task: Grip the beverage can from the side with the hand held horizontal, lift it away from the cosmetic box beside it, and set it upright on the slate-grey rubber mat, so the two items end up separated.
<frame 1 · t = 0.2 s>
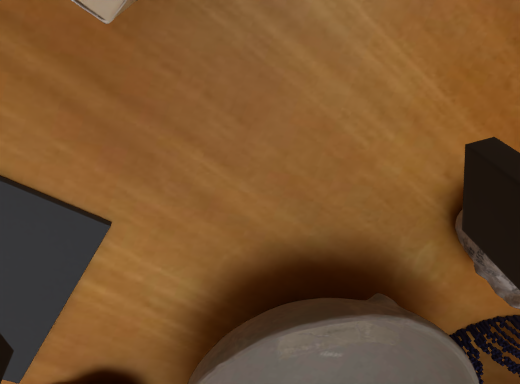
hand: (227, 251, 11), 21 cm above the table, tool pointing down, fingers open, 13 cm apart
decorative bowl: (481, 375, 51), on the table
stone: (468, 217, 39), on the table
bowl: (304, 346, 44), on the table
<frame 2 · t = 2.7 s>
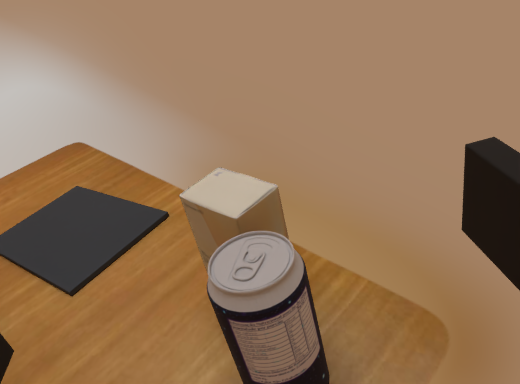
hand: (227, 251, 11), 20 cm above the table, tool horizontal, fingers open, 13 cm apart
slate mat: (75, 232, 53), on the table
cosmetic box: (262, 309, 37), on the table
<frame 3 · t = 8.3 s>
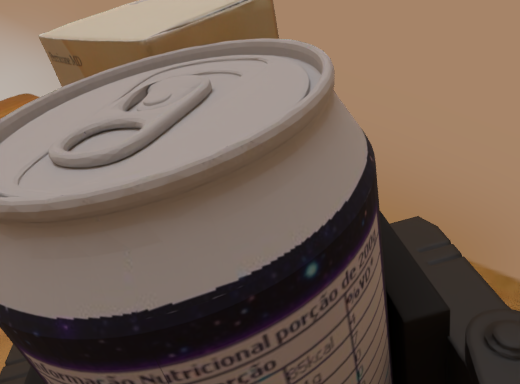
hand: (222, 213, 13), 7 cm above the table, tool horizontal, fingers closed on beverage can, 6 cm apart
cosmetic box: (242, 310, 19), on the table
when the fingers open (7 cm above the table, at t = 19.9 s): beverage can stays where it is, resting on slate mat.
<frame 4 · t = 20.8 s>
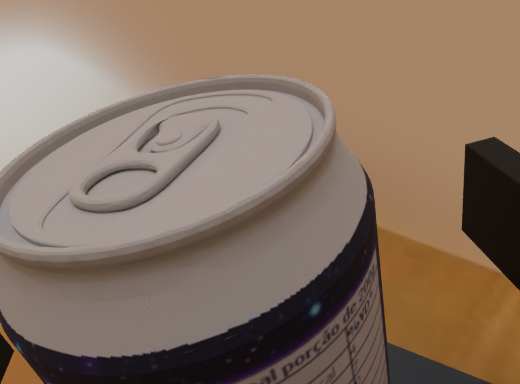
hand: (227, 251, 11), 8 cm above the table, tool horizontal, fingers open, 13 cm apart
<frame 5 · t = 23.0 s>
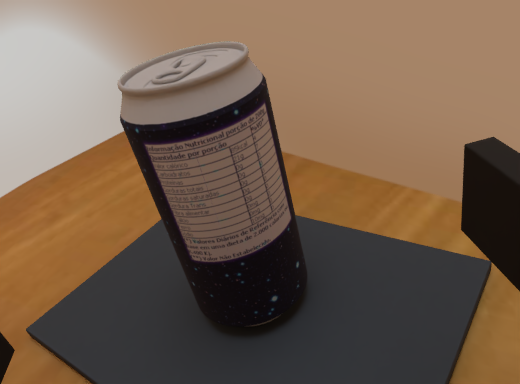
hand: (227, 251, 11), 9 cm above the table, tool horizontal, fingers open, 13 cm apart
slate mat: (244, 305, 22), on the table
beverage can: (256, 296, 22), resting on slate mat
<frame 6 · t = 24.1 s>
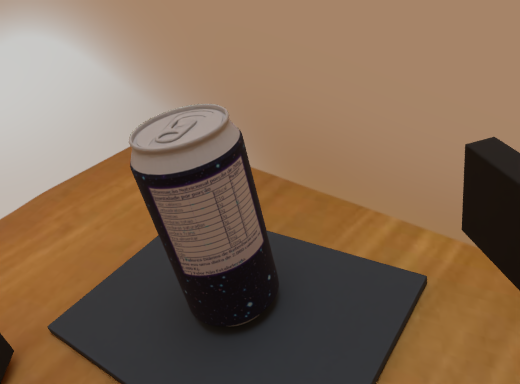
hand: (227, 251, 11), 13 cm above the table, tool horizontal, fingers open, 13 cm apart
slate mat: (228, 309, 27), on the table
beverage can: (237, 301, 27), resting on slate mat
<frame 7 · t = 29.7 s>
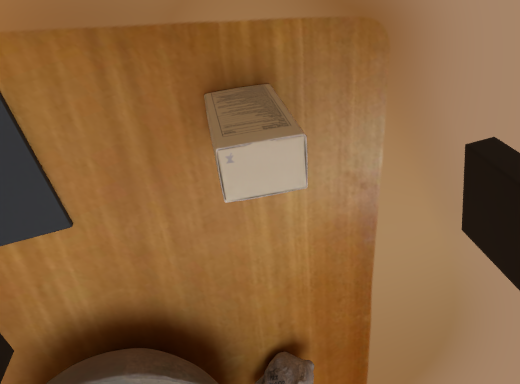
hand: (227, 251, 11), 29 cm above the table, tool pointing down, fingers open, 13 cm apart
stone: (278, 357, 58), on the table
cosmetic box: (241, 109, 40), on the table
bowl: (137, 381, 56), on the table
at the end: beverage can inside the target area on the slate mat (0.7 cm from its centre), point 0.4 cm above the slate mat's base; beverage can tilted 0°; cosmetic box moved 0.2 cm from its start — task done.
